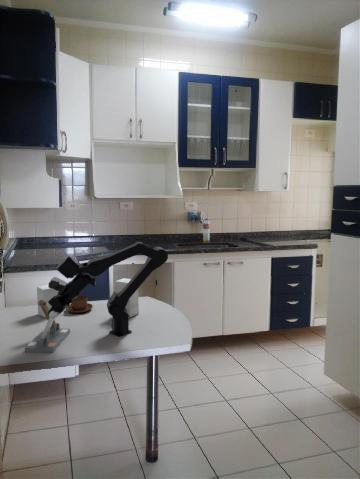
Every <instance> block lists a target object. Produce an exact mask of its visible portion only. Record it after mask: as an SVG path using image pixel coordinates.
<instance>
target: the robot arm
mask: <svg viewBox="0 0 360 479" xmlns="http://www.w3.org/2000/svg"><path fill="white" fill-rule="evenodd" d="M140 254H141V255H143V256H146V257H147V258H146V260H145V262H144V264H143V265H142V266H141V267H140V269H139V270H138V271H136V273H135V274H134V275H133V277H131V278H130V279H131V280H130V281H129V283H128V284H127V285H126V286H125V287H124V288H123V290H122V291H120V292H119V293H116V291H114V292H112V295H111V296H110V297H108V298H107V302H106V307H107V311H108V314H109V315H110V316H111V330H109V331H108V332H109V333H110V334H112V335H115V336H118V337H121V336H125V335H127V334H130V333H132V330H130V329H129V322H130V321H129V318H130V317H129V314H128V312H127V309H126V308H125V307H126V305H127V303H128V301H129V299H130V297H131V296H132V295H133V294H134V293H135V291H136V290H137V289H138V290H139V288H140V287H141V286H142V285H143V284H144V282H145V281H146V280H147V279H148V277H149V276H151V274H152V273H153V272H154V271H155V270H157V269H158V268H159V269H160V267H161V266H162V265H164V264H165V263H167V261H168V260H169V254H168V252H167V251H166V250H165V249H164V248H162V247H161V246H152V245H149V244H146V243H143V242H141V241H136V242H134V244H130V245H128V246H126V247H124V248H122V249H120V250H117V251H115V252H112V253H110V254H107V255H102V256H98V257H94V258H91V259H89V260H88V261H87V262H81V263H78V262H76V261H75V260H74V259H73V257H71V256H70V255H68V256H67V257H66V258H65V259H63V260H62V261H61V262H60V263H59V264H57V266H56V268H55V270H56V271H57V272H58V273H60V274H61V275H62V276H63V277H65V279H72V280H70V281H68V282H67V281H65V280H63V279H61V278H59V277H57V276H53V277H52V278H51V279H50V281H49V282H48V284H47V285H48V287H49V288H52V289H54V290H56V291H59V292H58V294H57V296H54V297H53V298H51V299H50V300H49V301H48V303H49V304H50V305H51V306H52V307H51V309H50V310H49V312H48V313H49V314H50V312H51V311H56V312H58V313H60V314H59V315H61V314H62V313H63V311H65V310H66V308H67V306H69V305H70V304H71V302H72V301H74V300H75V299H76V298H77V297H78V295H80V294H81V293H82V292H83V291H84V290H85V289H86V288H87V287H88V286H90V285H91V286H92V287H96V284H97V281H96V279H97V277H98V276H100V275H103V273H104V272H106V271H107V270H108V269H109V268H111V267H112V266H114V265H117V264H119V263H122V262H123V261H126V260H128V259H130V258H132V257H134V256H136V255H140Z"/></svg>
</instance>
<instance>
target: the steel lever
mask: <svg viewBox="0 0 360 479" xmlns="http://www.w3.org/2000/svg"><path fill="white" fill-rule="evenodd" d="M49 316H50V318H49V320H47V322H46V325H45V327H44V329H43V330H44V331H43V330H42V331H43V334H42V336H41V338H40V340H43V342H44V341H45V339H46V336H47V334H48V332H49V330H50V327H51V325H52V323H53V320H55V319H56V318H58V316H59V315H58V314H57V312H56V311H51V312H50V314H49Z"/></svg>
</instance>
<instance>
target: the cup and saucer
mask: <svg viewBox="0 0 360 479" xmlns="http://www.w3.org/2000/svg"><path fill="white" fill-rule="evenodd" d="M92 309H93V304H91V303H88V296H87V295H80V294H79V295H78V297H77V298H76V299H75V300H74V301H72V302H71V303H70V305H69V306H67V308H66V309H65V310H67V311H68V312H69V313H73V314H74V313H76V314H81V313H86V312H88V311H90V310H92Z"/></svg>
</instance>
